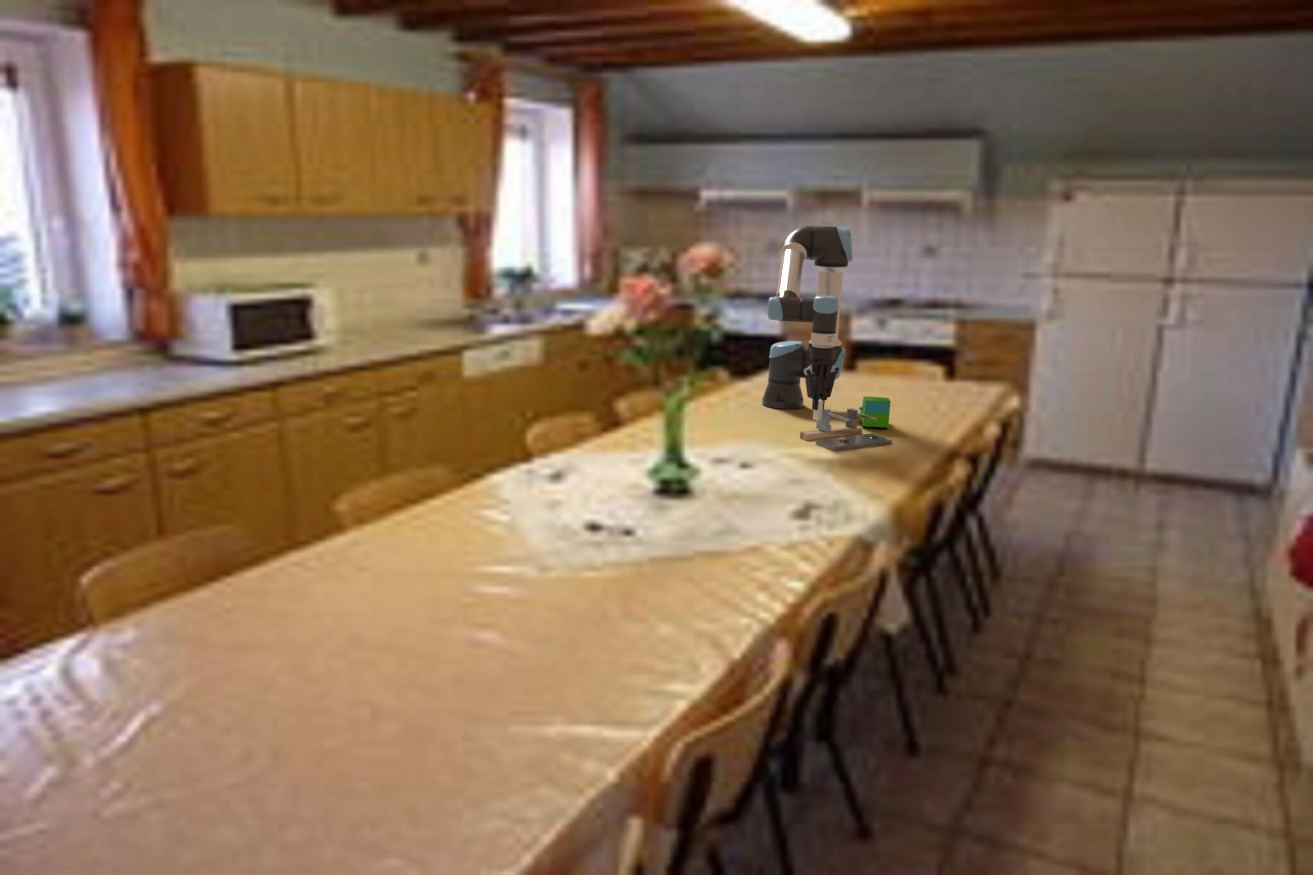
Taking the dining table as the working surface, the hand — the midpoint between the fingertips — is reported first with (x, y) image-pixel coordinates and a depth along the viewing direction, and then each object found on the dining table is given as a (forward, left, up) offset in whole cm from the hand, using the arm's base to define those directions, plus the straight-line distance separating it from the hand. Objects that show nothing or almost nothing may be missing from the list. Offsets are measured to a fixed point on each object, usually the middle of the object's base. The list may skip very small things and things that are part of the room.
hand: (817, 419), depth 300 cm
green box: (-6, +29, -6) cm, 30 cm away
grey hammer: (+5, +3, -4) cm, 6 cm away
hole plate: (+11, +6, -6) cm, 14 cm away
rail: (+5, +6, -6) cm, 10 cm away
